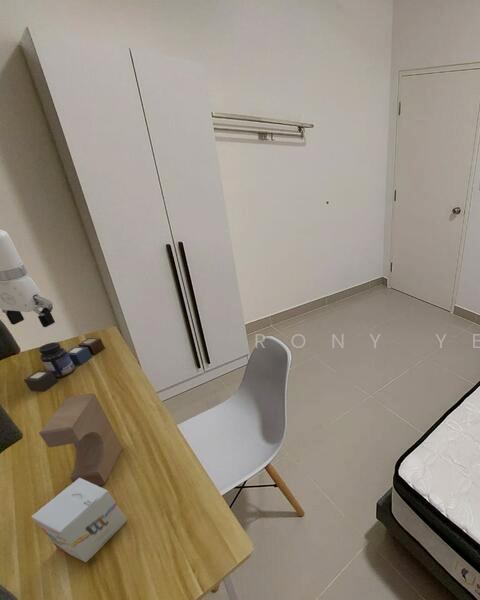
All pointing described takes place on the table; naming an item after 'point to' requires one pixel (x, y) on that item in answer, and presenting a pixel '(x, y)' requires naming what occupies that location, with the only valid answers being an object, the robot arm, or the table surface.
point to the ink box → (80, 519)
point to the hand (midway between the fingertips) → (33, 323)
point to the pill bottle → (56, 359)
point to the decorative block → (85, 437)
